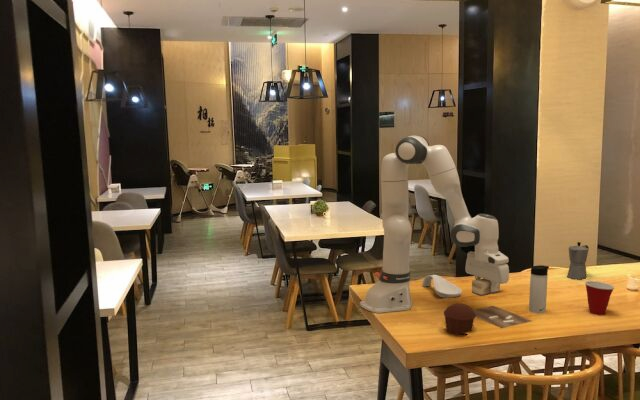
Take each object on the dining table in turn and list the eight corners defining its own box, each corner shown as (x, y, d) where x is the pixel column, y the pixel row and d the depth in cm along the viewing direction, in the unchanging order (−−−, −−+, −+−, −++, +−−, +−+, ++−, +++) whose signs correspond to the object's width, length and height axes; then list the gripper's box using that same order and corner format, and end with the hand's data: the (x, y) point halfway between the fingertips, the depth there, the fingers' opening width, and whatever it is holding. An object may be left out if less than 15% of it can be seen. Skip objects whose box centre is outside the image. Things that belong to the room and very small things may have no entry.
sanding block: (481, 296, 208) (481, 283, 208) (471, 292, 213) (472, 280, 212) (499, 292, 213) (500, 279, 212) (490, 288, 217) (490, 276, 217)
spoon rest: (467, 299, 234) (467, 283, 233) (444, 303, 229) (445, 286, 228) (436, 285, 255) (436, 270, 254) (414, 288, 251) (415, 273, 250)
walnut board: (501, 332, 196) (501, 328, 195) (463, 315, 213) (463, 311, 213) (532, 324, 203) (532, 320, 203) (492, 309, 220) (493, 305, 220)
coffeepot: (579, 281, 259) (581, 245, 257) (560, 277, 267) (562, 242, 264) (595, 276, 268) (597, 241, 266) (577, 272, 276) (579, 238, 273)
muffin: (436, 329, 198) (437, 303, 197) (456, 323, 205) (457, 298, 203) (462, 339, 189) (462, 312, 187) (482, 333, 195) (483, 306, 194)
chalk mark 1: (490, 319, 204) (490, 318, 204) (488, 318, 205) (488, 317, 205) (498, 317, 206) (498, 316, 206) (496, 317, 207) (496, 315, 207)
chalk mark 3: (504, 323, 200) (504, 322, 200) (502, 322, 201) (502, 320, 201) (514, 322, 201) (514, 321, 201) (512, 321, 202) (512, 320, 202)
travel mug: (544, 318, 210) (547, 268, 207) (527, 315, 213) (529, 266, 211) (547, 313, 215) (550, 264, 212) (530, 310, 218) (532, 262, 216)
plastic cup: (619, 316, 212) (621, 286, 210) (594, 318, 210) (596, 288, 208) (600, 307, 222) (602, 279, 221) (576, 308, 220) (578, 280, 219)
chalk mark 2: (508, 320, 203) (508, 318, 203) (505, 319, 204) (505, 318, 204) (512, 317, 206) (512, 316, 206) (509, 316, 207) (509, 315, 207)
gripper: (461, 251, 219) (461, 284, 220) (500, 261, 201) (499, 297, 202) (473, 249, 221) (473, 281, 223) (512, 259, 203) (511, 294, 205)
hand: (485, 289), depth 213 cm, fingers closed on sanding block, 5 cm apart
